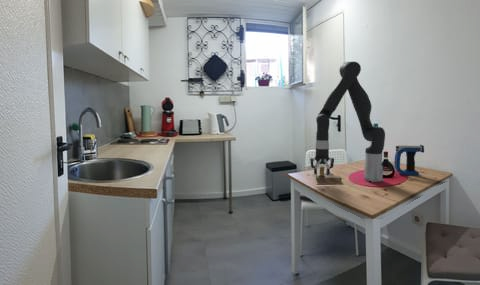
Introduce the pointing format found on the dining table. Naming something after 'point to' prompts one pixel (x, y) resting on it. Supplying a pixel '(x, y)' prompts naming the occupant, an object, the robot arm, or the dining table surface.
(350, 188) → the dining table surface
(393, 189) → the dining table surface
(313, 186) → the dining table surface
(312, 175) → the subfloor panel
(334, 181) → the joist batten
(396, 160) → the handheld scanner
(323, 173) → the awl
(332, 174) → the stud finder block
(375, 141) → the robot arm
